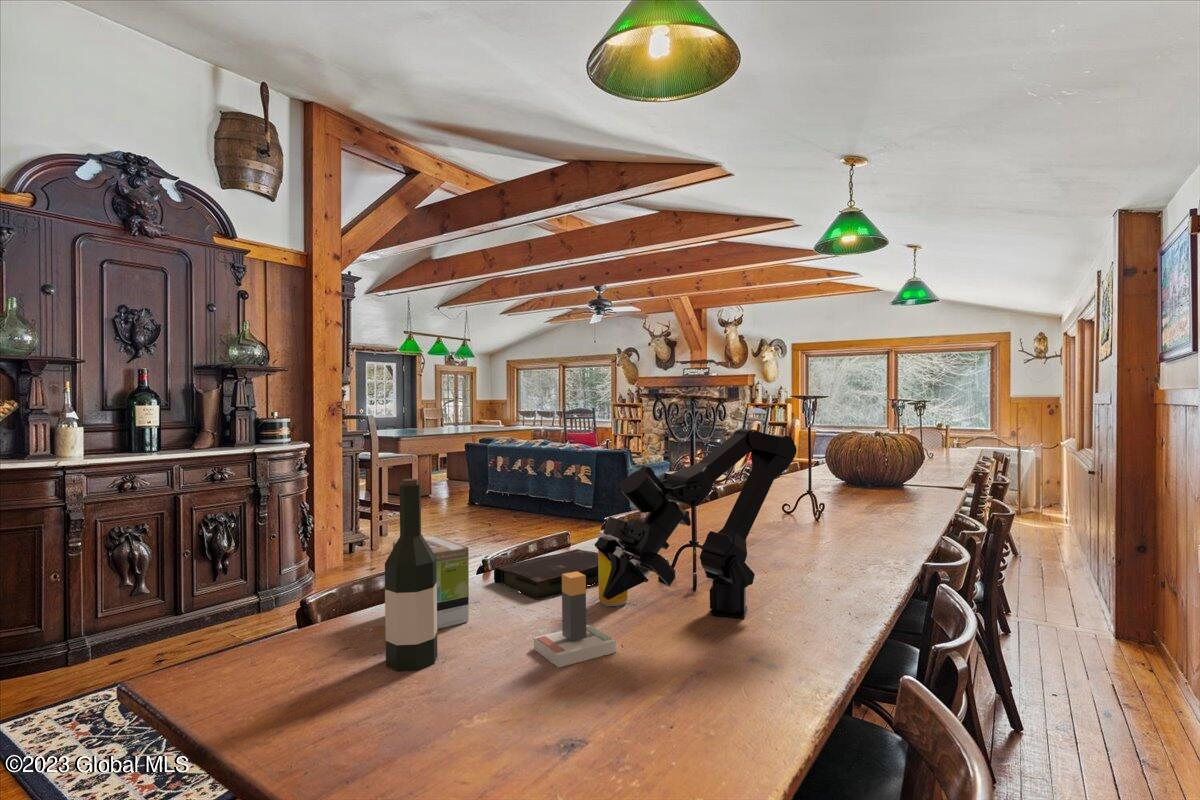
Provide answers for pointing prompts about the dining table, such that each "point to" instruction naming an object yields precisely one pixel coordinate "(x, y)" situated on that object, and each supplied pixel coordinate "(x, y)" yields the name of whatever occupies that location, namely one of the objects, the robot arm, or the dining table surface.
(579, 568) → the diary
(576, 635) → the lever
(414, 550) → the wine bottle
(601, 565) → the beer can
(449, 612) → the tea box
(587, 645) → the plate
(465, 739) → the dining table surface
